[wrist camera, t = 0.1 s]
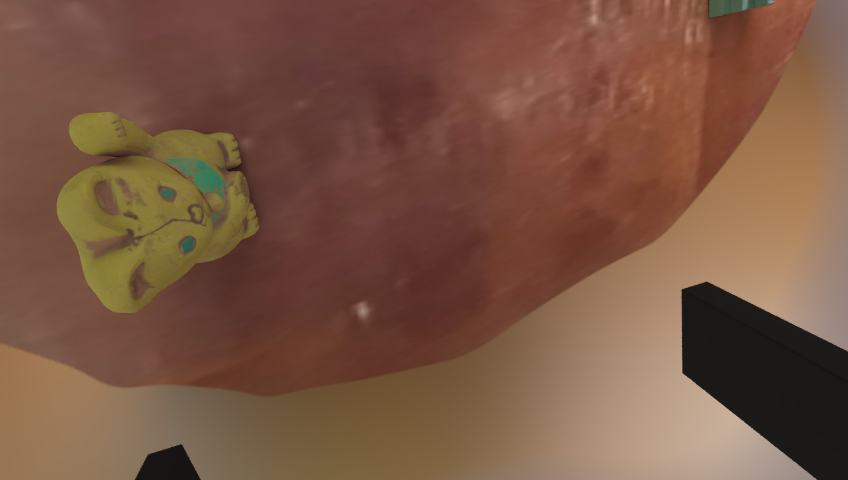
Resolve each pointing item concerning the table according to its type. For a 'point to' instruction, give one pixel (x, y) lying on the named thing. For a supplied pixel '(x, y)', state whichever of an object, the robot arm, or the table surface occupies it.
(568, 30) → the table surface
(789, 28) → the table surface
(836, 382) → the robot arm
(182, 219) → the figurine
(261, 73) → the table surface
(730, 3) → the green l-shaped bracket
